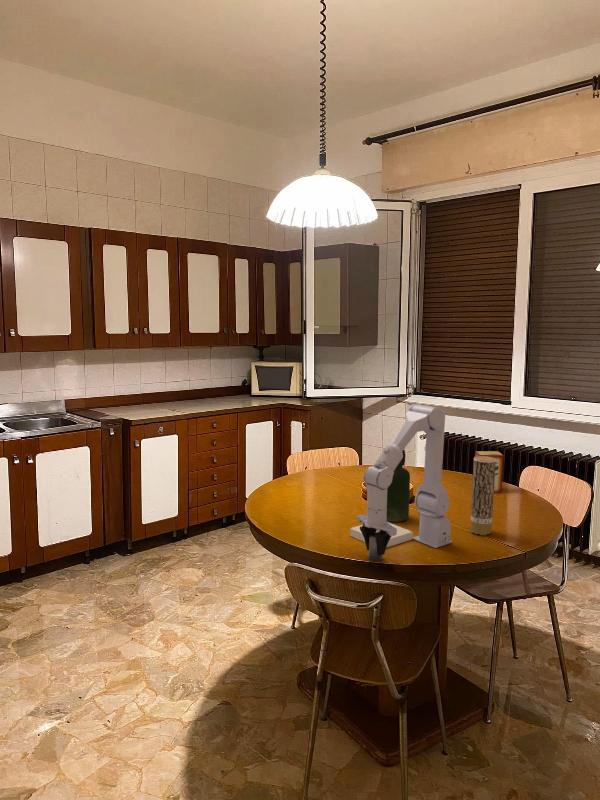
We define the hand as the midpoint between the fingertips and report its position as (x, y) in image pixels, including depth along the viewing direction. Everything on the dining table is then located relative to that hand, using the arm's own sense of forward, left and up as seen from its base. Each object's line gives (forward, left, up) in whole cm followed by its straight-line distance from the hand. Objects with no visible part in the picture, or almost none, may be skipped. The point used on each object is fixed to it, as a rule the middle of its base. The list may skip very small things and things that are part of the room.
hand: (375, 552), depth 177 cm
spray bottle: (+22, -30, -2) cm, 37 cm away
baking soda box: (+23, -85, -2) cm, 88 cm away
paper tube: (-5, -43, -2) cm, 43 cm away
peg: (0, 0, -2) cm, 2 cm away
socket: (+11, -13, -2) cm, 17 cm away
